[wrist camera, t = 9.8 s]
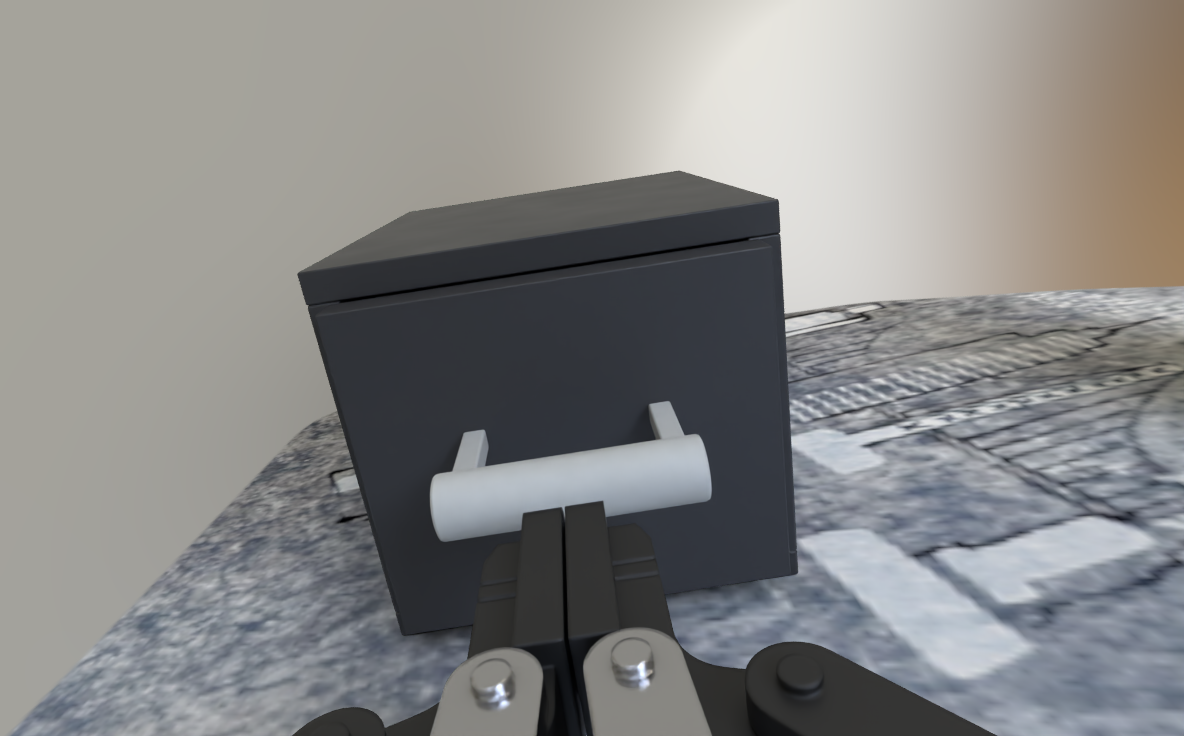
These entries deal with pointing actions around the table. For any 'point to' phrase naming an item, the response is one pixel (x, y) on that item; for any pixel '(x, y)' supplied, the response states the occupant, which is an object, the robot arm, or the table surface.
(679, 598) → the table surface
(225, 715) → the table surface
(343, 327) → the dark grey drawer
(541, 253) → the grey drawer cabinet
